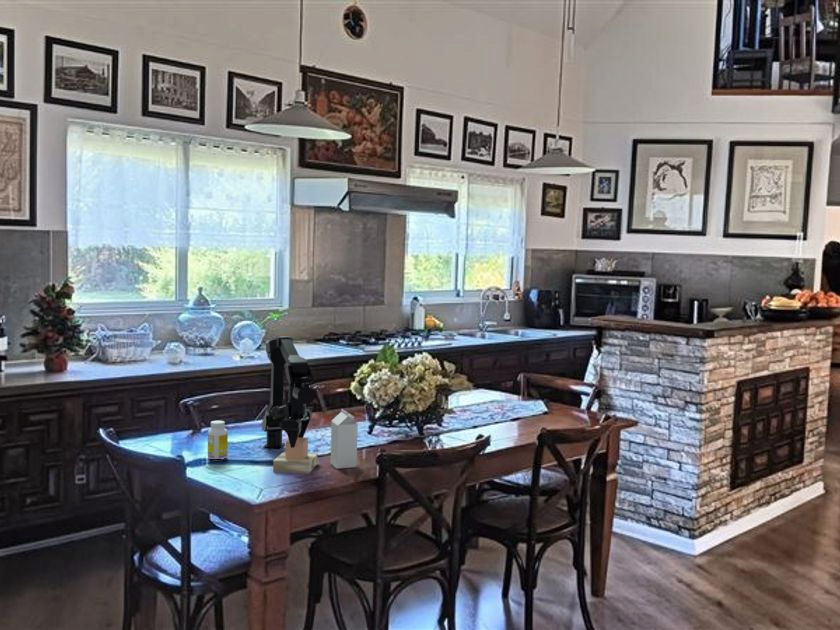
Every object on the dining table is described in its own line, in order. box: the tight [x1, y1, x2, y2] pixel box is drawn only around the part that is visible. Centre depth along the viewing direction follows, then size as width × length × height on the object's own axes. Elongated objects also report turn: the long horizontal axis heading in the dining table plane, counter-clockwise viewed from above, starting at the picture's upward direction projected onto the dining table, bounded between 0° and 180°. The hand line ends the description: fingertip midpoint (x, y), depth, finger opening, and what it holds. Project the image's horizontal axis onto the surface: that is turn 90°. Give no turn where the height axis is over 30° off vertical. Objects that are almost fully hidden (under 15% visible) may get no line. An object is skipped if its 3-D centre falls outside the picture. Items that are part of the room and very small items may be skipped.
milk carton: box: [330, 408, 359, 469], centre depth 277 cm, size 7×7×19 cm
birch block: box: [272, 450, 319, 475], centre depth 274 cm, size 12×12×4 cm
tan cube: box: [285, 437, 309, 460], centre depth 273 cm, size 6×6×6 cm
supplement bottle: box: [207, 420, 229, 460], centre depth 281 cm, size 7×7×13 cm
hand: (296, 444), depth 273 cm, fingers open, 9 cm apart
